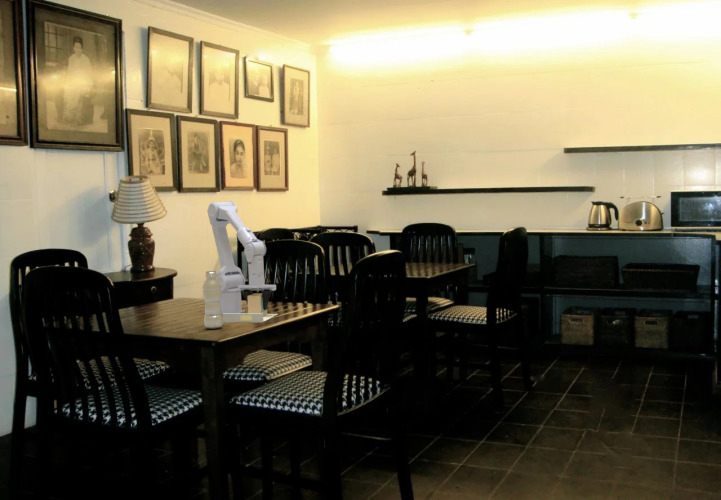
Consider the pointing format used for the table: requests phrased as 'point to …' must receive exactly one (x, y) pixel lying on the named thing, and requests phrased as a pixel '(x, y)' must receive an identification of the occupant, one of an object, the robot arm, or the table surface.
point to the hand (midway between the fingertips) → (257, 309)
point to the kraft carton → (256, 304)
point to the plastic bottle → (212, 301)
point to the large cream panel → (246, 317)
